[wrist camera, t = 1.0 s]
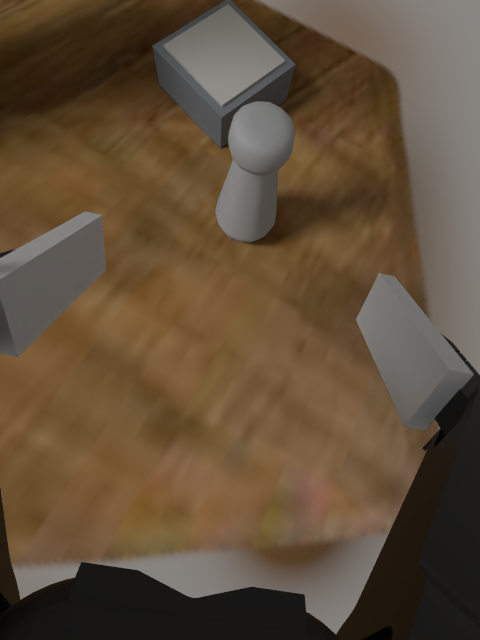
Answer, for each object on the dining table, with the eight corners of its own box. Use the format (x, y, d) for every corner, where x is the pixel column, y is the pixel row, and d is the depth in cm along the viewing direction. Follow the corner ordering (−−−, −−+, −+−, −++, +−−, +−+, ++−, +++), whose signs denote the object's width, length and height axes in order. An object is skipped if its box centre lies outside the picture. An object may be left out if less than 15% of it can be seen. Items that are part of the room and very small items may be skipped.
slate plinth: (159, 84, 33) (151, 43, 29) (226, 40, 35) (228, -5, 31) (220, 148, 33) (221, 115, 28) (286, 99, 34) (296, 62, 30)
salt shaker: (239, 188, 32) (257, 65, 19) (282, 221, 32) (329, 119, 19) (203, 227, 31) (198, 124, 18) (248, 261, 31) (273, 182, 18)
